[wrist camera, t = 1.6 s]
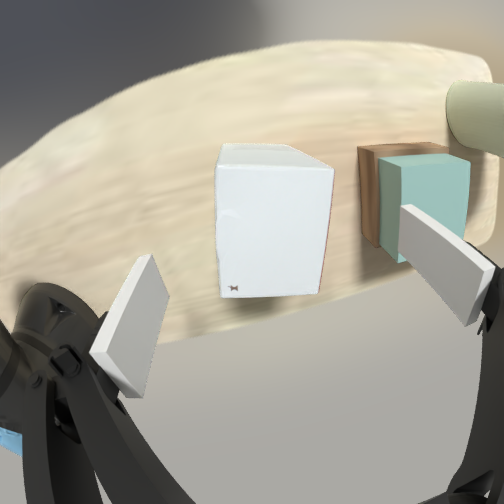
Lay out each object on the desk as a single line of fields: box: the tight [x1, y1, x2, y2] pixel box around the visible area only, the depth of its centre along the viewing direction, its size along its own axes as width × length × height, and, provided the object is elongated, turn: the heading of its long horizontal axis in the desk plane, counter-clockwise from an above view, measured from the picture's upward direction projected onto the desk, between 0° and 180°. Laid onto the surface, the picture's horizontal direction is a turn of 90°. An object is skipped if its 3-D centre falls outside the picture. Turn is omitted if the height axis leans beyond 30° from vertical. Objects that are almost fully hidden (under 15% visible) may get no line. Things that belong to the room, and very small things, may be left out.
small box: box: [215, 144, 335, 298], centre depth 20 cm, size 8×6×13 cm
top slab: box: [378, 153, 471, 263], centre depth 22 cm, size 9×9×4 cm
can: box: [446, 80, 504, 158], centre depth 17 cm, size 9×9×12 cm
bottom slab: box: [358, 142, 449, 248], centre depth 26 cm, size 10×10×4 cm
